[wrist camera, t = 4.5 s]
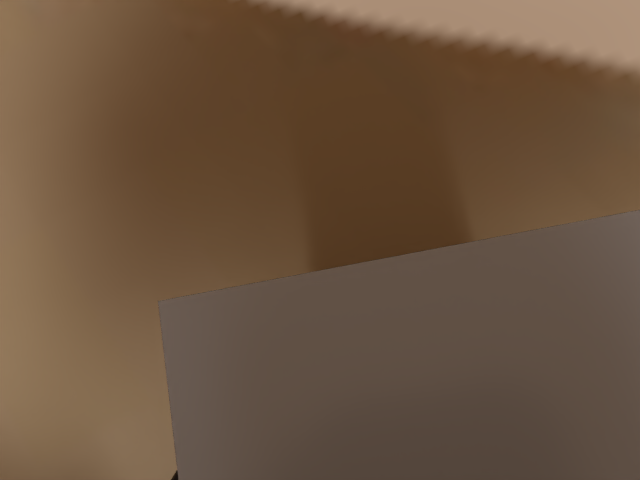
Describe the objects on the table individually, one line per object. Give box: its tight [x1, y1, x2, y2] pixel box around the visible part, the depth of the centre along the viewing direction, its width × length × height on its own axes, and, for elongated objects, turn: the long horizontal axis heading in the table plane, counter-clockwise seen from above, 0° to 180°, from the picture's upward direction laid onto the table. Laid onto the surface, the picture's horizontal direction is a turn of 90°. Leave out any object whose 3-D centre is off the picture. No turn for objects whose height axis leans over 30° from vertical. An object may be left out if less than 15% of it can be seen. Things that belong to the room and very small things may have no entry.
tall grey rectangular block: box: [158, 210, 640, 480], centre depth 11 cm, size 5×5×11 cm
